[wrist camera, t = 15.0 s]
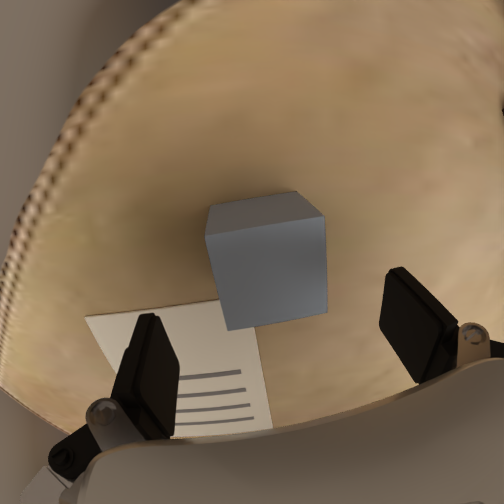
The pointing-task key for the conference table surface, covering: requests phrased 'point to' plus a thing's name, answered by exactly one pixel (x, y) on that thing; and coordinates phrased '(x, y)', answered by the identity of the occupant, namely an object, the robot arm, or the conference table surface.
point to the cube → (268, 259)
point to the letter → (200, 367)
